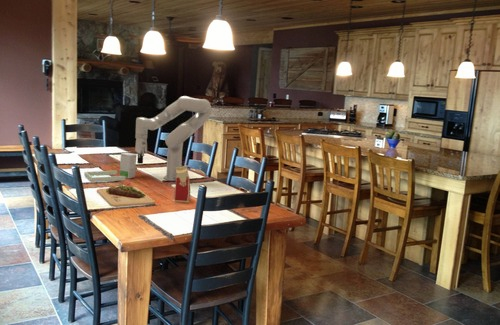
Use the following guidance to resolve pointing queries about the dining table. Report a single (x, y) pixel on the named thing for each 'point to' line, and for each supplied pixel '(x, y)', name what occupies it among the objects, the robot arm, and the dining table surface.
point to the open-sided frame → (96, 179)
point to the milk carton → (182, 185)
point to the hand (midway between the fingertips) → (140, 163)
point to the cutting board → (125, 196)
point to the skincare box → (127, 165)
